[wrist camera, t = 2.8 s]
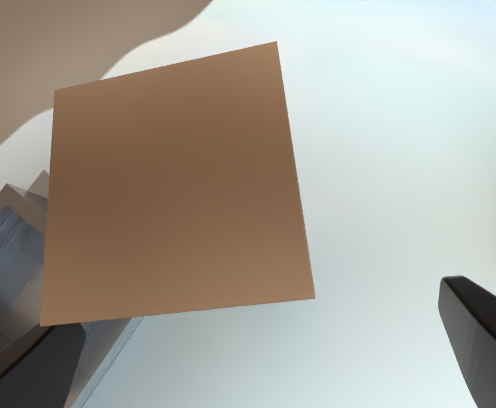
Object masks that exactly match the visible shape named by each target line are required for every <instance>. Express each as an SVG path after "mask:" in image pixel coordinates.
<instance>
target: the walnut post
mask: <svg viewBox="0 0 496 408" xmlns="http://www.w3.org/2000/svg"><path fill="white" fill-rule="evenodd" d="M54 98H55V99H54V113H53V128H52V144H51V160H50V175H49V191H48V206H47V222H46V237H45V253H44V269H43V284H42V300H41V315H40V327H41V326H51V325H60V324H70V323H80V322H90V321H99V320H109V319H119V318H129V317H139V316H148V315H158V314H168V313H178V312H187V311H197V310H207V309H217V308H227V307H236V306H246V305H256V304H266V303H276V302H285V301H295V300H305V299H315V291H314V285H313V278H312V271H311V265H310V258H309V251H308V244H307V238H306V231H305V224H304V218H303V211H302V204H301V198H300V191H299V185H298V178H297V172H296V165H295V158H294V152H293V145H292V139H291V132H290V126H289V119H288V112H287V106H286V99H285V93H284V86H283V80H282V73H281V67H280V60H279V53H278V47H277V41H276V42H271V43H267V44H262V45H258V46H253V47H249V48H244V49H240V50H235V51H230V52H226V53H221V54H217V55H212V56H208V57H203V58H199V59H194V60H190V61H185V62H181V63H176V64H172V65H167V66H163V67H158V68H154V69H149V70H145V71H140V72H136V73H131V74H127V75H122V76H118V77H113V78H109V79H104V80H99V81H95V82H91V83H86V84H81V85H77V86H73V87H68V88H63V89H59V90H55V97H54Z"/></svg>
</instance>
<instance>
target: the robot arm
mask: <svg viewBox="0 0 496 408" xmlns="http://www.w3.org/2000/svg"><path fill="white" fill-rule="evenodd" d="M438 308H439V313H440V316H441V319H442V321H443V324H444V327H445V329H446V332H447V335H448V337H449V340H450V343H451V346H452V348H453V351H454V354H455V356H456V359H457V362H458V364H459V367H460V370H461V372H462V375H463V377H464V380H465V382H466V384H467V387H468V389H469V391H470V393H471V395H472V397H473V399H474V401H475V403H476V405H477V407H478V408H496V296H495V295H493V294H492V293H490V292H489V291H487V290H485V289H484V288H482V287H481V286H479V285H477V284H476V283H474V282H473V281H471V280H470V279H468V278H466V277H464V276H460V275H459V276H448V277H443V278H442V279H441V282H440V291H439V300H438ZM85 340H86V333H85V330H84V328H83V326H82V325H81V323H70V324H60V325H51V326H41V327H40V323H38V324H37V325H35V326H34V327H33V328H31V329H30V330H29V331H27V332H26V333H24V334H23V335H22V336H20V337H19V338H18V339H16V340H15V341H13V342H12V343H11V344H9V345H8V346H7V347H5V348H4V349H2V350H1V351H0V408H64V406H65V404H66V401H67V398H68V395H69V392H70V389H71V386H72V383H73V379H74V376H75V373H76V370H77V366H78V363H79V360H80V357H81V353H82V350H83V347H84V344H85Z"/></svg>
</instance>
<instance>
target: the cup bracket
mask: <svg viewBox="0 0 496 408" xmlns="http://www.w3.org/2000/svg"><path fill="white" fill-rule="evenodd" d="M49 175H50V173H49V172H46V171H44V170H43V171H42V173H41V174H40V175H39V177H38V178H37V179H36V181H35V182H34V183H33V184H32V186H31V187H30V188H29V190H28V191H26V190H23V189H20V188H18V187H15V186H12V185H9V184H6V185H5V186H4V188H3V189H2V190H1V191H0V351H1V350H2V349H4V348H5V347H7V346H8V345H9V344H11V343H12V342H13V341H15V340H16V339H18V338H19V337H20V336H22V335H23V334H24V333H26V332H27V331H29V330H30V329H31V328H33V327H34V326H35V325H37V324H38V323H40V315H41V300H42V284H43V269H44V253H45V237H46V222H47V206H48V191H49ZM143 317H144V316H139V317H129V318H119V319H109V320H99V321H90V322H80V323H81V325H82V326H83V328H84V330H85V333H86V340H85V344H84V347H83V350H82V353H81V357H80V360H79V363H78V366H77V370H76V373H75V376H74V379H73V383H72V386H71V389H70V392H69V395H68V398H67V401H66V404H65V406H64V408H82V406H83V405H84V404H85V402H86V401H87V399H88V398H89V396H90V395H91V393H92V392H93V390H94V389H95V387H96V386H97V384H98V383H99V381H100V380H101V379H102V377H103V376H104V374H105V373H106V371H107V370H108V368H109V367H110V365H111V364H112V362H113V361H114V359H115V358H116V356H117V355H118V353H119V352H120V351H121V349H122V348H123V346H124V345H125V343H126V342H127V340H128V339H129V337H130V336H131V334H132V333H133V331H134V330H135V328H136V327H137V325H138V324H139V323H140V321H141V320H142V318H143Z"/></svg>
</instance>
